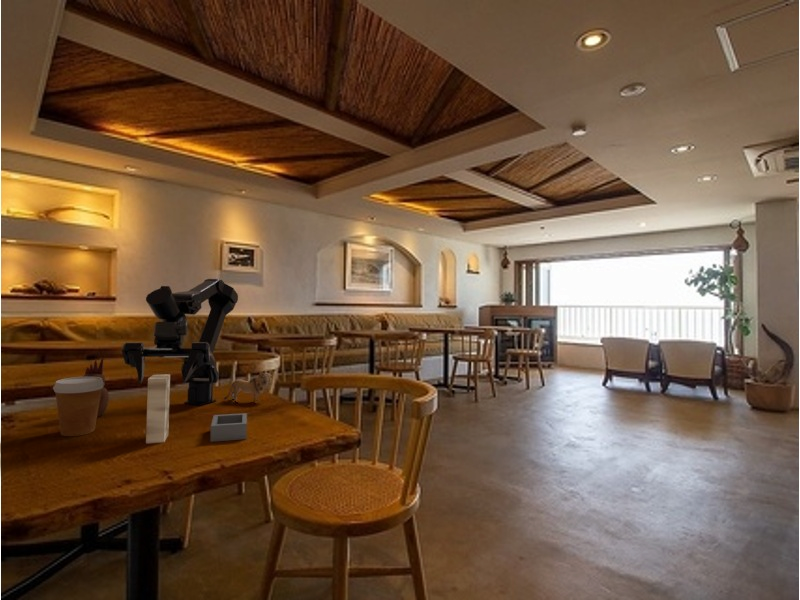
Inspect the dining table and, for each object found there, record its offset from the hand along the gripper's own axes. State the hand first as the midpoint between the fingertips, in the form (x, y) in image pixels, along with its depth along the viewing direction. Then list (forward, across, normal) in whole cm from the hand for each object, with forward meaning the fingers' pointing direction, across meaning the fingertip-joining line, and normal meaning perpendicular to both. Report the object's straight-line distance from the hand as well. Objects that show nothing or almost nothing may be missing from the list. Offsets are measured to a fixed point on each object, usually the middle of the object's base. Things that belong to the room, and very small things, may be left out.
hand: (162, 381), depth 100 cm
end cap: (+12, +15, +5) cm, 20 cm away
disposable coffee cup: (+5, -18, +12) cm, 22 cm away
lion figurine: (-11, +20, +28) cm, 35 cm away
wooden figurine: (-5, -19, +22) cm, 29 cm away
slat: (+12, 0, +5) cm, 13 cm away
